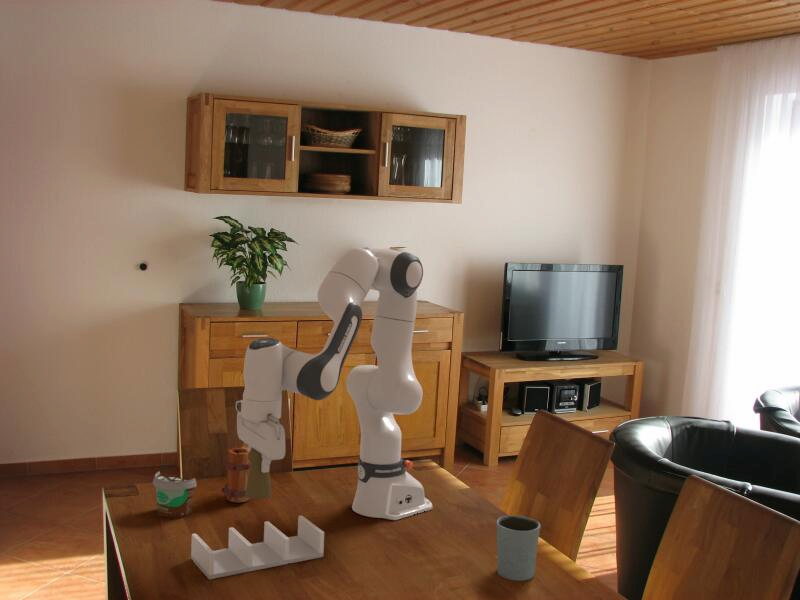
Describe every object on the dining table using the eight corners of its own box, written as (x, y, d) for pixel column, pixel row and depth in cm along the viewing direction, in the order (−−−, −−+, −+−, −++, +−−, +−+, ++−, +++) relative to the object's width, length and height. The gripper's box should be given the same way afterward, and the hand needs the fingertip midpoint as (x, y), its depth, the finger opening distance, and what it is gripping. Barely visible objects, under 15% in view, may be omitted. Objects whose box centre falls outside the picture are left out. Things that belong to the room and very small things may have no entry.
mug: (245, 507, 236) (247, 453, 234) (217, 504, 238) (218, 450, 236) (264, 490, 250) (266, 439, 249) (237, 487, 252) (239, 436, 250)
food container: (142, 514, 228) (142, 477, 226) (157, 507, 233) (157, 471, 232) (181, 523, 223) (182, 485, 222) (196, 515, 229) (196, 478, 228)
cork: (276, 493, 204) (278, 447, 203) (261, 501, 199) (263, 453, 197) (255, 488, 207) (257, 443, 206) (239, 495, 201) (241, 449, 200)
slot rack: (301, 538, 217) (302, 515, 216) (323, 556, 207) (324, 532, 206) (191, 559, 202) (191, 534, 201) (209, 579, 192) (209, 553, 191)
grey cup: (507, 584, 196) (510, 533, 195) (485, 566, 206) (488, 517, 204) (545, 578, 200) (549, 528, 199) (522, 561, 210) (525, 512, 208)
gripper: (293, 419, 193) (291, 479, 195) (257, 399, 211) (255, 454, 212) (267, 421, 190) (264, 483, 192) (232, 400, 207) (230, 457, 209)
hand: (259, 468), depth 202 cm, fingers closed on cork, 4 cm apart
